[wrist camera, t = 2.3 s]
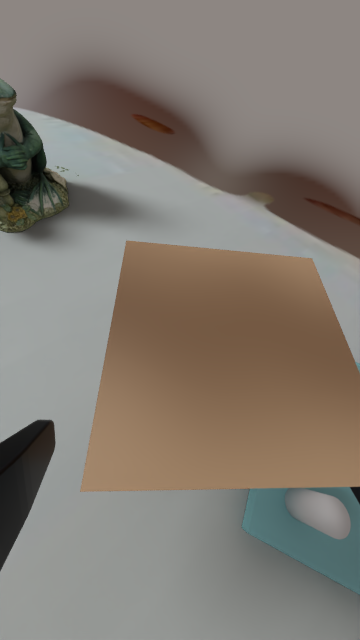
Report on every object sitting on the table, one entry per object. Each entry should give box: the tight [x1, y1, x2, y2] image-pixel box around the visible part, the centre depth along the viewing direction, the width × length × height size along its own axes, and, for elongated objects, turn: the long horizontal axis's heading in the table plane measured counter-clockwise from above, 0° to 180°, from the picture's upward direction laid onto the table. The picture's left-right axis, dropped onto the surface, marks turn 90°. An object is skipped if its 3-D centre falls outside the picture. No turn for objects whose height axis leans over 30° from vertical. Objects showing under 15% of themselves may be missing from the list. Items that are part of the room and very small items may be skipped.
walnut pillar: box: [80, 241, 360, 492], centre depth 10 cm, size 5×5×13 cm
